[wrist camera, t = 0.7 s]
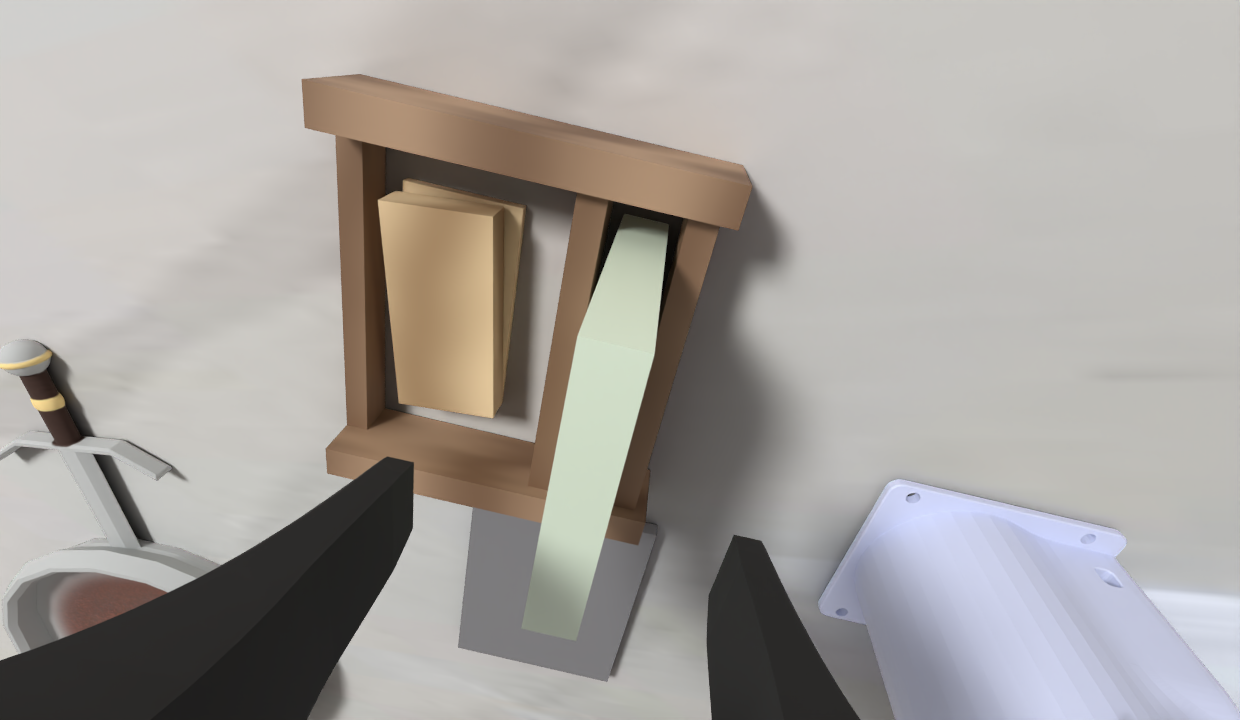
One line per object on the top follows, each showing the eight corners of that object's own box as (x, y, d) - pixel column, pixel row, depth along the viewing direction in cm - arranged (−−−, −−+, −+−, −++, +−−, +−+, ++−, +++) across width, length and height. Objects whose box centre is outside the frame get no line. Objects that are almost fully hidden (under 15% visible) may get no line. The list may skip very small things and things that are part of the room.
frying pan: (184, 376, 21) (332, 780, 34) (238, 342, 24) (356, 730, 37) (-220, 340, 23) (71, 743, 36) (-127, 311, 25) (112, 697, 38)
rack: (743, 165, 17) (752, 186, 15) (643, 491, 24) (638, 545, 22) (359, 74, 17) (301, 79, 15) (366, 426, 24) (327, 473, 21)
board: (668, 224, 19) (654, 354, 11) (614, 438, 23) (576, 640, 15) (624, 213, 19) (577, 335, 11) (578, 430, 23) (521, 628, 15)
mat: (657, 525, 25) (656, 535, 24) (608, 670, 30) (607, 681, 30) (478, 483, 25) (474, 493, 24) (462, 636, 30) (457, 647, 30)
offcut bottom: (532, 200, 20) (523, 208, 18) (507, 392, 23) (499, 408, 22) (418, 173, 20) (402, 180, 18) (412, 370, 23) (399, 385, 22)
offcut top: (504, 206, 18) (492, 216, 17) (502, 400, 22) (493, 418, 21) (395, 190, 19) (377, 200, 17) (412, 386, 22) (398, 403, 21)
